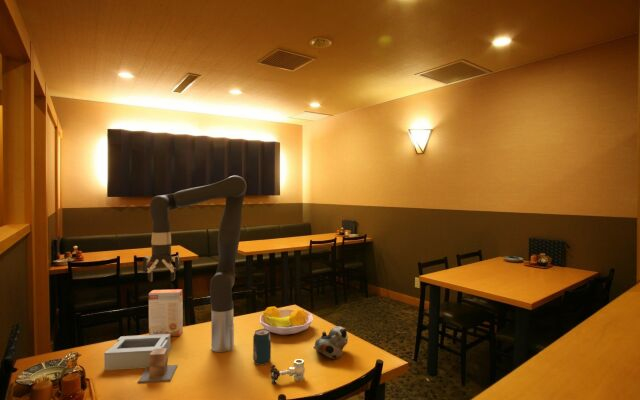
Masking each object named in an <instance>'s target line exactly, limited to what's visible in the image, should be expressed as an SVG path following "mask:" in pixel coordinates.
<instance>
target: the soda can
mask: <svg viewBox="0 0 640 400" xmlns="http://www.w3.org/2000/svg"><path fill="white" fill-rule="evenodd" d="M252 337H253V339H252V340H253V341H252V342H253V343H252V345H253V346H252V348H253V349H252V352H253V353H252V355H253V356H252V359H253V362H254V363H255V364H256V365H260V366H261V365H262V366H263V365H267V364H268V363H269V362H270V361H271V358H272V357H271V355H272V354H271V353H272V351H271V350H272V349H271V347H272V345H271V343H272V342H271V341H272V339H271V337H272V335H271V332H269V330H266V329H265V328H261V329H257V330H255V331H254V334H253V336H252Z"/></svg>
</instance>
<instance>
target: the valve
mask: <svg viewBox="0 0 640 400" xmlns="http://www.w3.org/2000/svg"><path fill="white" fill-rule="evenodd" d="M305 369H306V368H305V360H304V359H300V358H299V359H295V360H294V361H293V367H292V366H289V367H288V369H282V370H281V371H280V370H278V368H277V367H276V364H271V365H270V373H271V374H270V379H271V384H273V385H276V384H277V380H278V379H279V377H280V376H286V375H288V376H289V377H293V380H294V381H296V382H302V381H304V380H305V379H304V378H305V371H306V370H305Z"/></svg>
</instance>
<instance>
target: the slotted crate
mask: <svg viewBox="0 0 640 400" xmlns="http://www.w3.org/2000/svg"><path fill="white" fill-rule="evenodd" d="M116 340H117V341H116V343H115V344H113V346H112V347H111V348H109V349H107V350H106V351H105V352H104V355H103V357H104V359H103V360H104V363H103V364H104V371H113V370H114V371H115V370H130V369H131V370H132V369H146V368H147V367H149V355H150V353H151V352H152V350H153V349H162V348H167V355H168V354H169V353H170V351H171V346H172V345H171V336H170V334H158V335H149V334H144V335H126V336H125V335H123V336H120V337H118V339H116Z"/></svg>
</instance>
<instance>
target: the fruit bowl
mask: <svg viewBox="0 0 640 400" xmlns="http://www.w3.org/2000/svg"><path fill="white" fill-rule="evenodd" d="M313 321H314V319H313V313H310V312H308V311H305V310H304V309H291V308H290V309H289V308H283V309H278V307H276V306H269V307H268V306H267V307H266V308H265V310H264V311H263V313H262V314H261V315H260V316H259V322H260V325H261V326H262V327H263V329H266V330H269V333H274V334H277V335H281V336H286V335H291V334H298V333H301V332H303V331H306V330H308V328H309V327H310V325H311V324H312V323H313Z"/></svg>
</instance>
